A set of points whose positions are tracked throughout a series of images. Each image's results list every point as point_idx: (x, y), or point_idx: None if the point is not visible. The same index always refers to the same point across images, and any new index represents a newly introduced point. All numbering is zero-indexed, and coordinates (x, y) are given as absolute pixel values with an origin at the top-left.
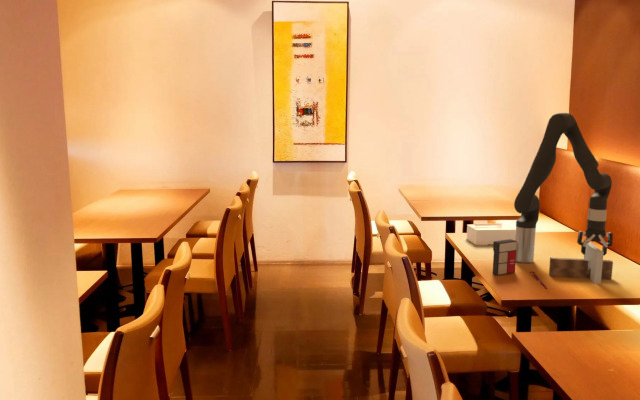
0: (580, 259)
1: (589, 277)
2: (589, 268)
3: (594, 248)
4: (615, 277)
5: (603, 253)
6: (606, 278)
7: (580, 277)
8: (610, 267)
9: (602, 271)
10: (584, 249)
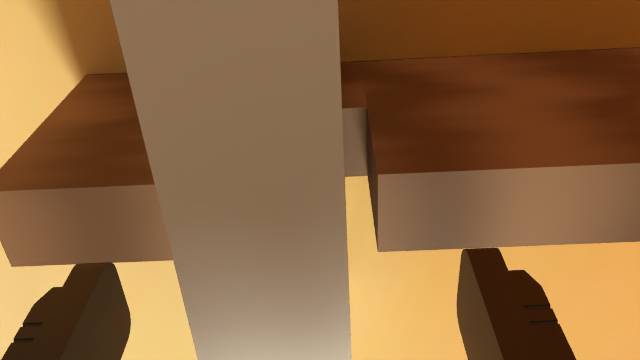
0: (493, 215)
1: None
2: None
3: (306, 307)
4: None
5: (98, 288)
6: None
7: (435, 59)
8: (51, 140)
9: None
10: (517, 321)
